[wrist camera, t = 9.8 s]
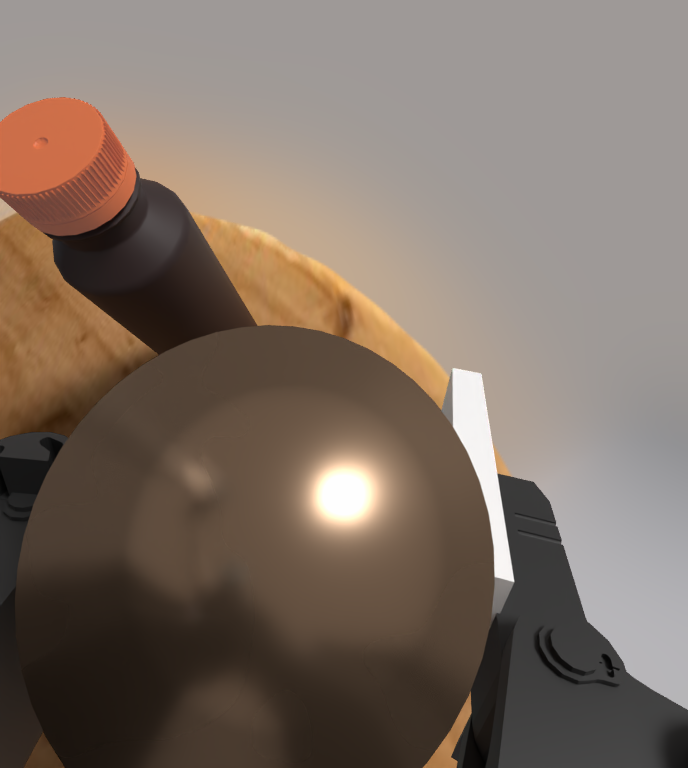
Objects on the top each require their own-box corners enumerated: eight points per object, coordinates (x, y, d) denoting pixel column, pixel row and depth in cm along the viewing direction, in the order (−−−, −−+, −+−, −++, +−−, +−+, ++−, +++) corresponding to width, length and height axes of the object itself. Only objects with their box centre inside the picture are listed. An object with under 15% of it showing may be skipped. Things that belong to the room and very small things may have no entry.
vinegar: (279, 369, 33) (153, 166, 15) (202, 408, 33) (-33, 249, 14) (248, 304, 36) (101, 54, 17) (174, 339, 35) (-62, 122, 16)
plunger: (278, 515, 28) (-253, 454, 5) (371, 445, 30) (342, 94, 6) (347, 623, 26) (-7, 1739, 2) (446, 542, 27) (966, 666, 3)
